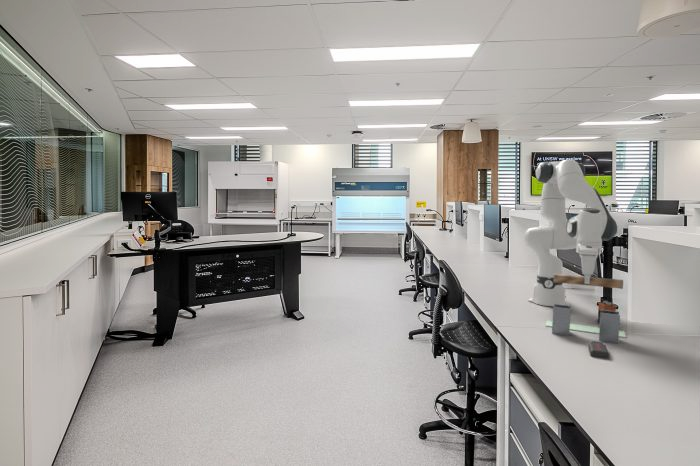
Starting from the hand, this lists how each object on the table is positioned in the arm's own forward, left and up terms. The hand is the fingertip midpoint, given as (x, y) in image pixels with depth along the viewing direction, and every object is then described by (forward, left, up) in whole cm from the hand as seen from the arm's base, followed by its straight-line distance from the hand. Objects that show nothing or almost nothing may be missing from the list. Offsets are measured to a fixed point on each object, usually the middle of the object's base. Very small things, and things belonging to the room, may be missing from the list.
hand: (586, 282), depth 168 cm
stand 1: (+10, -8, -19) cm, 23 cm away
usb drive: (+27, +4, -20) cm, 34 cm away
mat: (0, 0, -19) cm, 19 cm away
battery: (-12, +8, -20) cm, 24 cm away
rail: (0, 0, -1) cm, 1 cm away
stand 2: (+10, +8, -19) cm, 23 cm away
